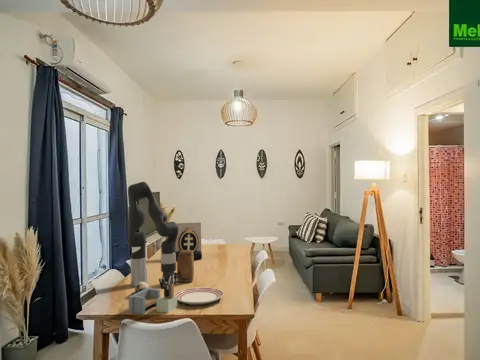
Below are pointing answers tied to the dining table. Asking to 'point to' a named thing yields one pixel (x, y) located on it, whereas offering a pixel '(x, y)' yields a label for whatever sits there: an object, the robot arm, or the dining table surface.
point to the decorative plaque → (189, 239)
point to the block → (185, 266)
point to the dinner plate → (199, 295)
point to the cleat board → (143, 300)
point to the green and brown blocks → (167, 301)
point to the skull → (140, 287)
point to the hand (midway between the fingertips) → (168, 295)
